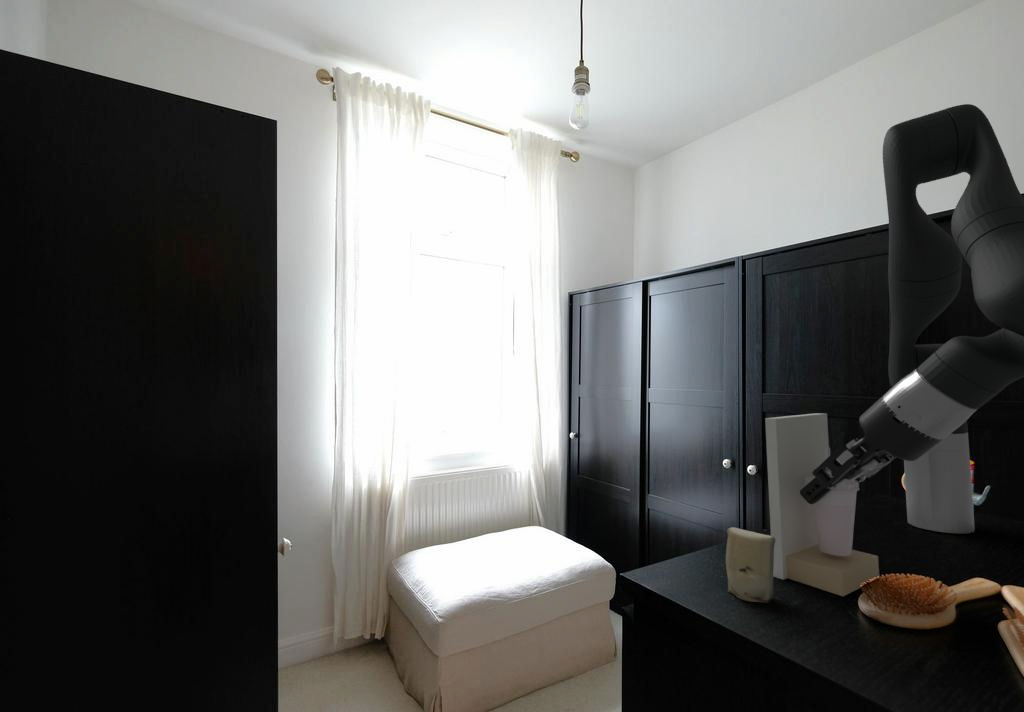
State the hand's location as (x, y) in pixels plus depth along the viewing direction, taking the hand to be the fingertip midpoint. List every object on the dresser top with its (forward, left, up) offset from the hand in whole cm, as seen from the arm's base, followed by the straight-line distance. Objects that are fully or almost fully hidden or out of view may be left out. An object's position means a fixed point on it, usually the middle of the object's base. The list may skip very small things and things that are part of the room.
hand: (819, 494), depth 69 cm
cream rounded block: (+14, -2, -11) cm, 18 cm away
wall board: (-1, +1, -11) cm, 11 cm away
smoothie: (0, +2, -8) cm, 8 cm away
